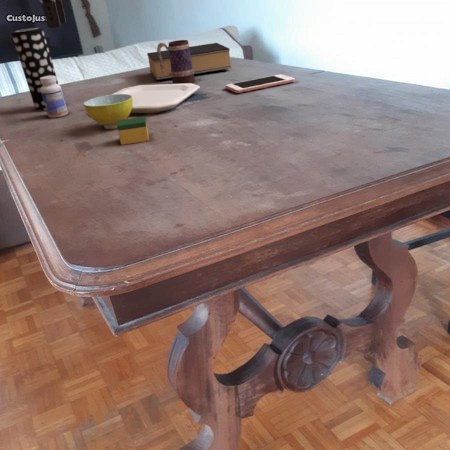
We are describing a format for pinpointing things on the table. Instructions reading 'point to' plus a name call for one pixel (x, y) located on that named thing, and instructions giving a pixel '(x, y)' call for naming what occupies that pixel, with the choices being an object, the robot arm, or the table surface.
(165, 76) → the book
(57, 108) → the pill bottle
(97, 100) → the bowl
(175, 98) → the plate
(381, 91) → the table surface
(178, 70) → the mug
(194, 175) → the table surface
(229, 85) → the cell phone
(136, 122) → the sponge
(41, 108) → the white-spotted black cylinder
